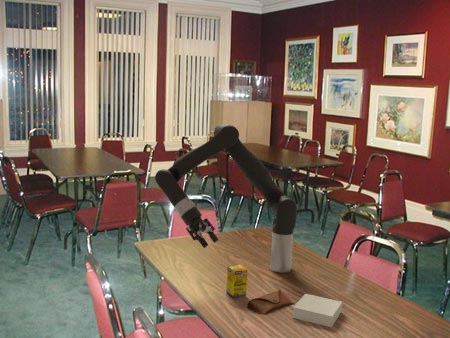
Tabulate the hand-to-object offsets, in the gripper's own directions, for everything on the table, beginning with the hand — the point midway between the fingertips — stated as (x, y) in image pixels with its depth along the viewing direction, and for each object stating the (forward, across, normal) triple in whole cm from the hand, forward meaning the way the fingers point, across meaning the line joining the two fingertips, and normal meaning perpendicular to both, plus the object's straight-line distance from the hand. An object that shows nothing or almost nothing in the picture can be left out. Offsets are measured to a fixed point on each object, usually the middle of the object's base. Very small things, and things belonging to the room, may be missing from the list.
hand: (211, 243), depth 201 cm
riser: (+44, -1, -19) cm, 48 cm away
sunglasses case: (+33, -2, -6) cm, 33 cm away
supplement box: (+22, 0, +5) cm, 22 cm away
